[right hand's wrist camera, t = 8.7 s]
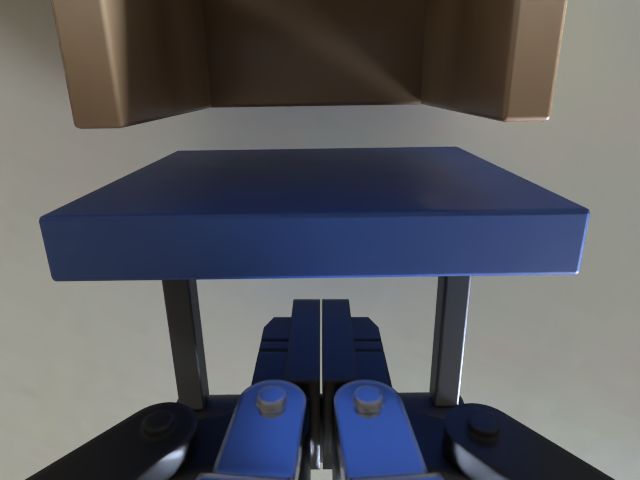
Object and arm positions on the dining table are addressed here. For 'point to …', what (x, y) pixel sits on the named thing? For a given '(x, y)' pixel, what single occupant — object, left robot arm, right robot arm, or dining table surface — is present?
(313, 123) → the dining table surface
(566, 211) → the drawer
